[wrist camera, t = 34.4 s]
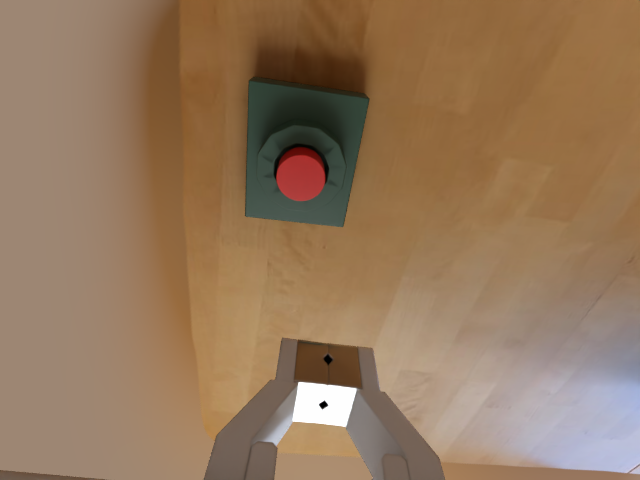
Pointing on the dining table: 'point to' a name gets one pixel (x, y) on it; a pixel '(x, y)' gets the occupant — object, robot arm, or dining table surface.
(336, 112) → the button box
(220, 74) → the dining table surface
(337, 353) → the robot arm
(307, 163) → the button
